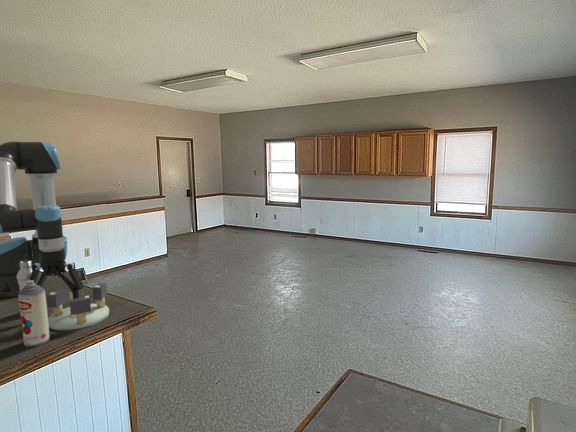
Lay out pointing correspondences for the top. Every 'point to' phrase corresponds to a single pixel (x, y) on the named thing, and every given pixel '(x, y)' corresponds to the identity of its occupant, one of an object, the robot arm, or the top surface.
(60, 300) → the dark grey rectangular block
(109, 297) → the top surface
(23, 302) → the aerosol can
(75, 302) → the knob front
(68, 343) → the top surface
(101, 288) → the grey block on peg
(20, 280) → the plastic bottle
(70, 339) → the top surface
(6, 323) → the top surface
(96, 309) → the base
